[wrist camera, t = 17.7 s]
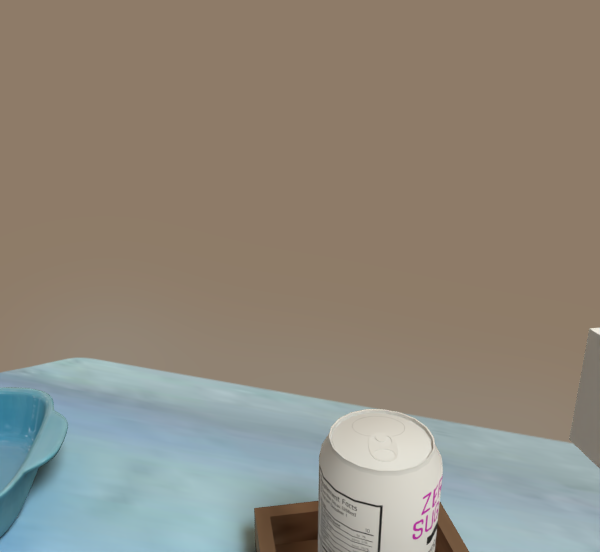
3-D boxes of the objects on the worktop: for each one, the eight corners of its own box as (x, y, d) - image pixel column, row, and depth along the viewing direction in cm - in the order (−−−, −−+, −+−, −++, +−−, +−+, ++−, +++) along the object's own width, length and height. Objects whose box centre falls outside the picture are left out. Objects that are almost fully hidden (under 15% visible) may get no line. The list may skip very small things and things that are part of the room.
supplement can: (315, 564, 46) (317, 404, 41) (416, 565, 46) (430, 404, 41) (318, 660, 38) (321, 477, 34) (439, 660, 38) (459, 477, 34)
